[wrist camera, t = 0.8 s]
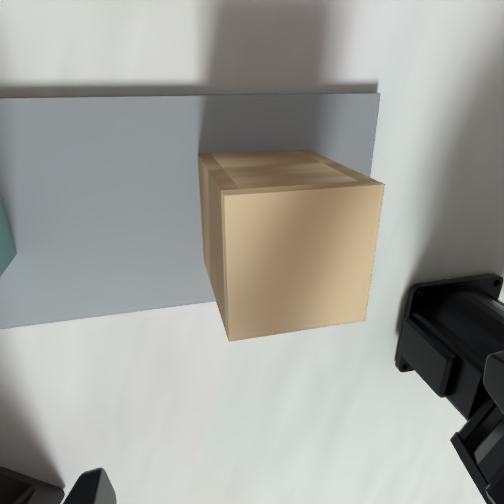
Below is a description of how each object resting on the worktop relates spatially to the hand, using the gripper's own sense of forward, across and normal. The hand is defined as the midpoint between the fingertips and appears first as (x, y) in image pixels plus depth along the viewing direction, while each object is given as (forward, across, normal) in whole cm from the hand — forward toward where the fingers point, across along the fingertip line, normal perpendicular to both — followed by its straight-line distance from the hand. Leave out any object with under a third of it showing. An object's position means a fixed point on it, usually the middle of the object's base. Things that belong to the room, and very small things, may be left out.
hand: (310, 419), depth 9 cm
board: (+12, +4, -2) cm, 13 cm away
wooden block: (+12, -2, -1) cm, 12 cm away
